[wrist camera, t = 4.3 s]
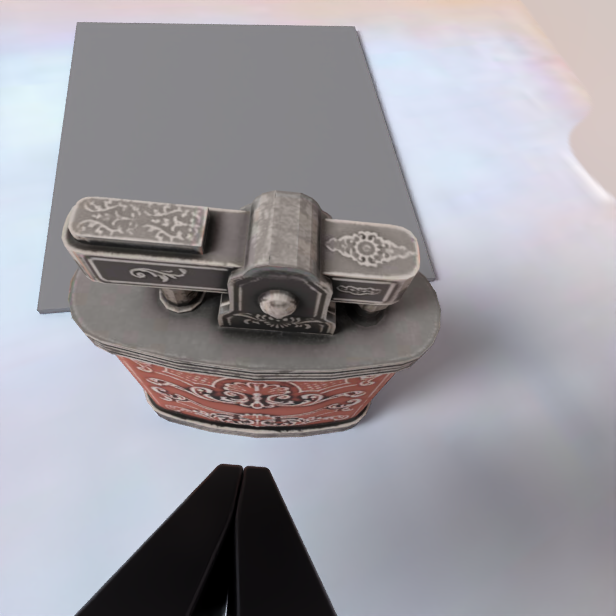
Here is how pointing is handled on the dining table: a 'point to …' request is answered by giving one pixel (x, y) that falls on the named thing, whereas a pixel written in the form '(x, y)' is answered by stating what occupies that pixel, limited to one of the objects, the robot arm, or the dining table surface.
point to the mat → (222, 127)
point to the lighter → (250, 309)
